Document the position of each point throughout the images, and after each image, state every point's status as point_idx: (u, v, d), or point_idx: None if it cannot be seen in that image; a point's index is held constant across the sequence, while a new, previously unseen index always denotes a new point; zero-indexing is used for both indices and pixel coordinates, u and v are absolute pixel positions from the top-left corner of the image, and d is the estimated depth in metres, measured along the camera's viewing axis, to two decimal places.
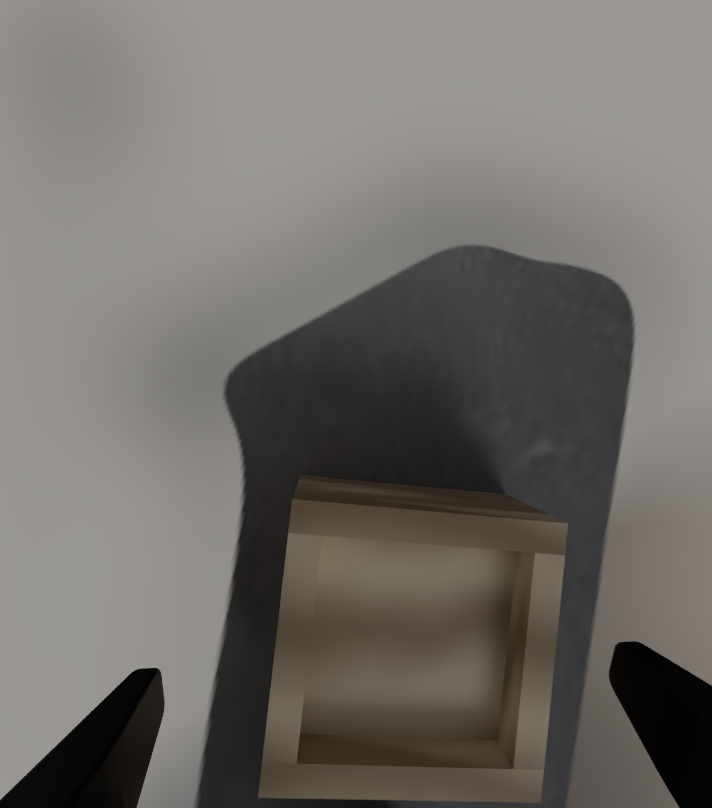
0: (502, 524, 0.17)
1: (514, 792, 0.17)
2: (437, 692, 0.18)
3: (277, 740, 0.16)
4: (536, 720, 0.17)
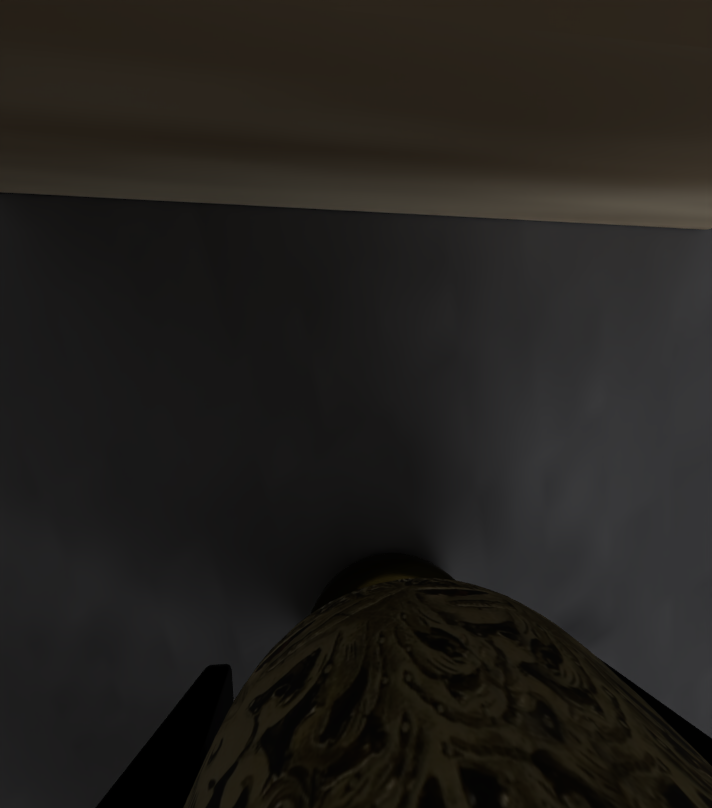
0: None
1: None
2: None
3: None
4: None
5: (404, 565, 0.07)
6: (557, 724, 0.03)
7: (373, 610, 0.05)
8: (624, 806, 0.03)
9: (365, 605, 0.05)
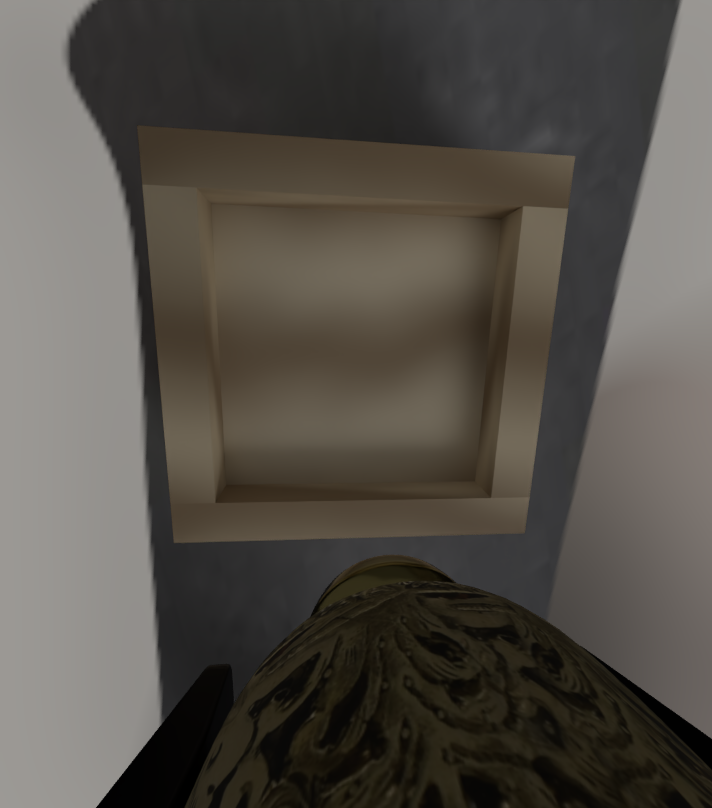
0: (474, 160, 0.11)
1: (492, 523, 0.14)
2: (397, 429, 0.14)
3: (185, 477, 0.13)
4: (521, 439, 0.13)
5: (404, 567, 0.07)
6: (559, 729, 0.03)
7: (373, 614, 0.05)
8: None
9: (365, 608, 0.05)
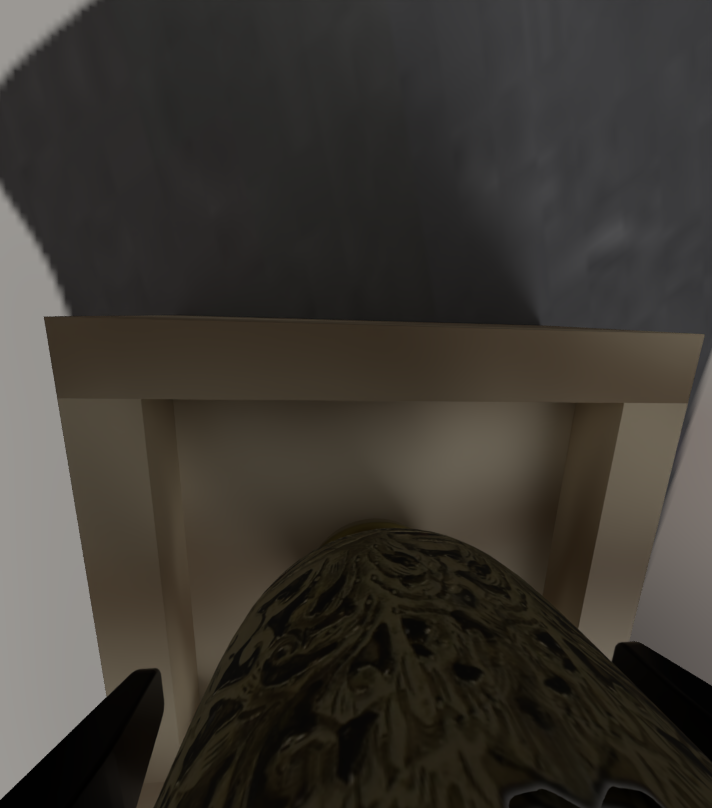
0: (557, 345, 0.08)
1: None
2: None
3: None
4: None
5: (385, 526, 0.09)
6: (473, 599, 0.05)
7: (353, 544, 0.06)
8: (505, 636, 0.04)
9: (347, 542, 0.06)
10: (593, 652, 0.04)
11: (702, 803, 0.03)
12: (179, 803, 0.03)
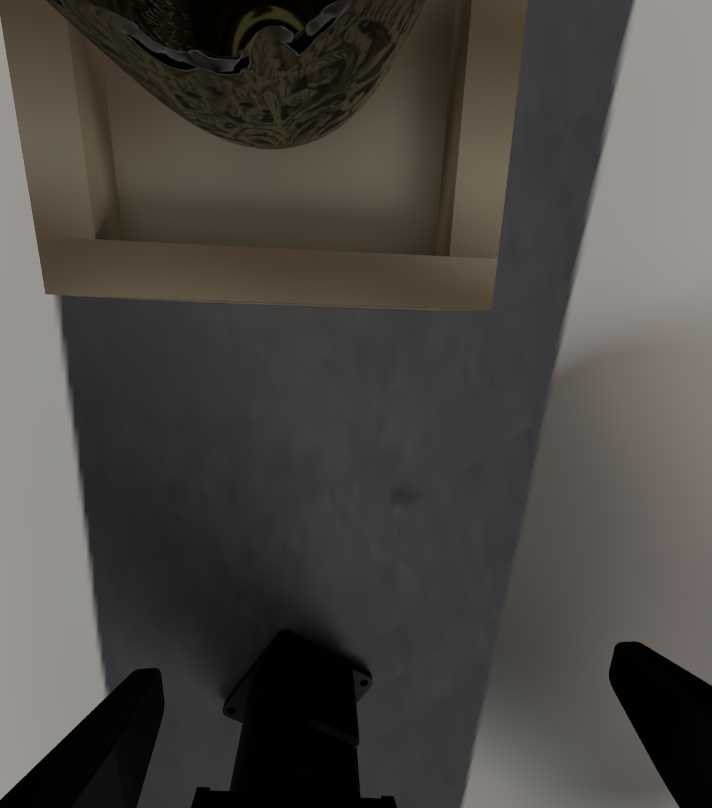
0: None
1: (451, 293, 0.11)
2: (336, 182, 0.12)
3: (52, 197, 0.10)
4: (487, 173, 0.11)
5: None
6: None
7: None
8: None
9: None
10: None
11: None
12: None
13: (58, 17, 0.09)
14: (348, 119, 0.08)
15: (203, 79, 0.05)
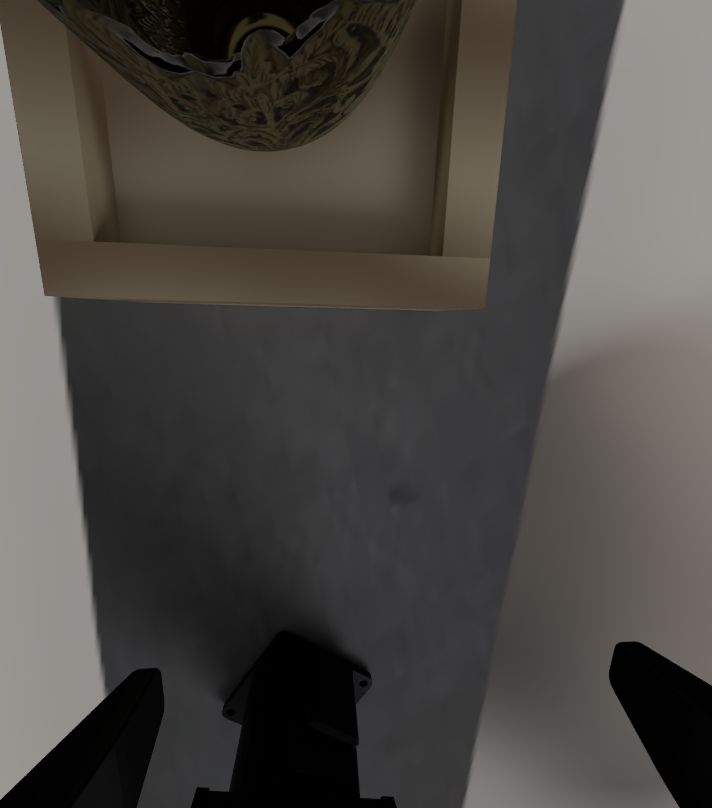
0: None
1: (445, 292, 0.11)
2: (331, 184, 0.12)
3: (51, 200, 0.10)
4: (478, 175, 0.11)
5: None
6: None
7: None
8: None
9: None
10: None
11: None
12: None
13: (57, 25, 0.09)
14: (341, 122, 0.08)
15: (198, 81, 0.05)
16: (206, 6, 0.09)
